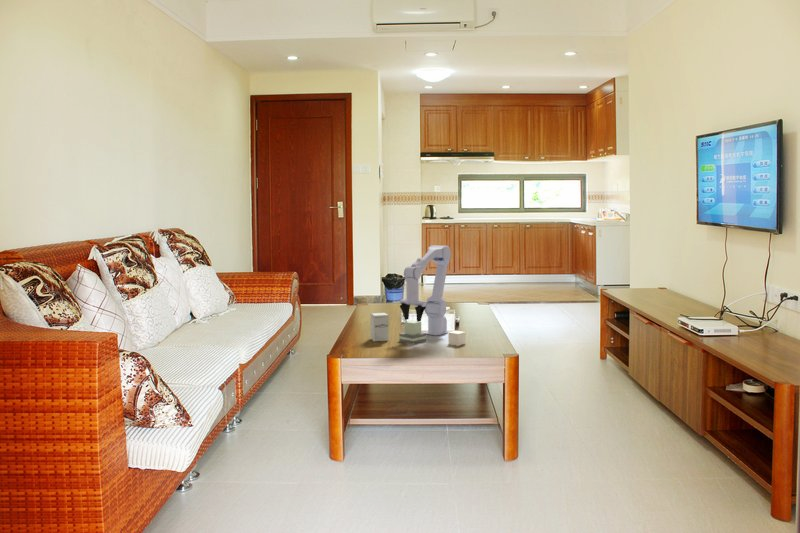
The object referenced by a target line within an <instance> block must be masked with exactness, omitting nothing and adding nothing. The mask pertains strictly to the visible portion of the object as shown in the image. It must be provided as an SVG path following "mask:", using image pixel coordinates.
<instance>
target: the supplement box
mask: <svg viewBox="0 0 800 533" xmlns="http://www.w3.org/2000/svg"><path fill="white" fill-rule="evenodd" d="M389 316H390V315H389V314H388V313H386V312H376V313H375V312H373V313H370V316H369V317H370V340H371V341H373V342H374V343H376V342H386V341H387V342H388V341H389V340H390V339H389V336H390V335H389V332H390V330H389V325H390V324H389V323H390V322H389V319H390V318H389Z"/></svg>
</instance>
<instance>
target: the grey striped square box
mask: <svg viewBox="0 0 800 533" xmlns="http://www.w3.org/2000/svg"><path fill="white" fill-rule="evenodd" d="M398 339H399V342H402V343H408V344H413V345H414V344H419V343H422V342H427V334H426V333H425V332H422V331H421V333H420V334H416V335H410V334H405V332H401V333H399V336H398Z"/></svg>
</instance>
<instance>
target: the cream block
mask: <svg viewBox="0 0 800 533" xmlns="http://www.w3.org/2000/svg"><path fill="white" fill-rule="evenodd" d="M462 344H463V345H466V331H461V330H453V331H448V345H453V346H457V347H458V346H461V345H462Z"/></svg>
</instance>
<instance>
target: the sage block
mask: <svg viewBox="0 0 800 533" xmlns="http://www.w3.org/2000/svg"><path fill="white" fill-rule="evenodd" d="M421 332H422V321H419V322H418V321H417V320H413V319H412V320H408V321H407V320H406V321H404V333H405V334H410V335H416V334H420V333H421Z"/></svg>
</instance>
